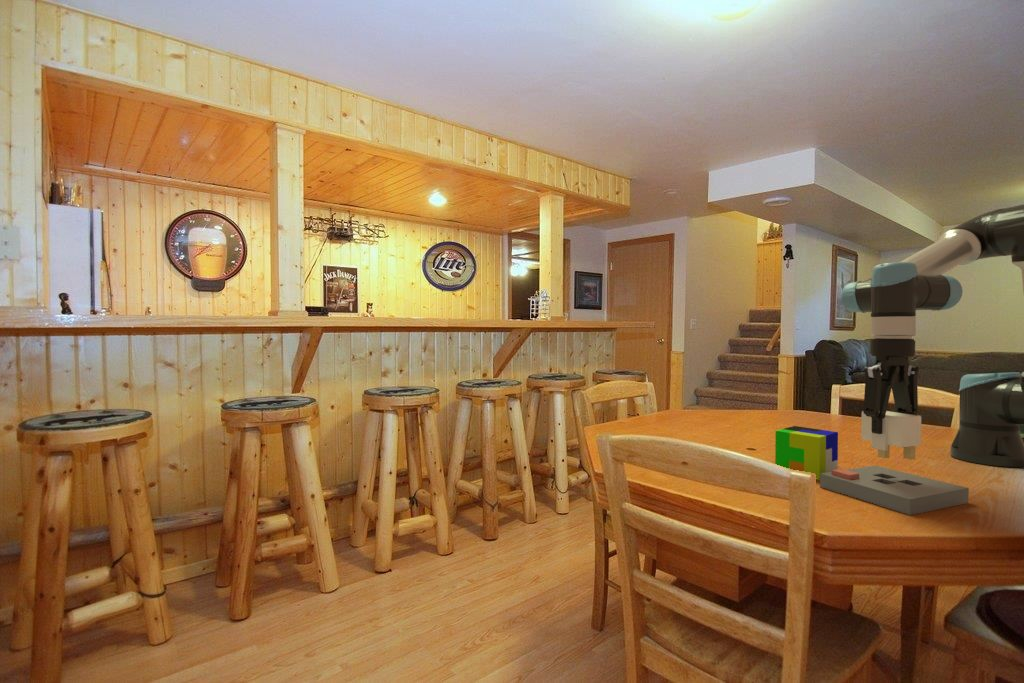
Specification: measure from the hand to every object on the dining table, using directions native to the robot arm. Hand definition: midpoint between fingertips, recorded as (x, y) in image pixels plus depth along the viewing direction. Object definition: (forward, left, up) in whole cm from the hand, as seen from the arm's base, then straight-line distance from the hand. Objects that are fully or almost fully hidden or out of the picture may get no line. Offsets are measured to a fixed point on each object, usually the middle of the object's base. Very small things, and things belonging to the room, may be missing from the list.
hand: (890, 447), depth 105 cm
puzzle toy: (+1, -19, -10) cm, 21 cm away
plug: (0, 0, -2) cm, 2 cm away
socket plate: (0, 0, -10) cm, 10 cm away
